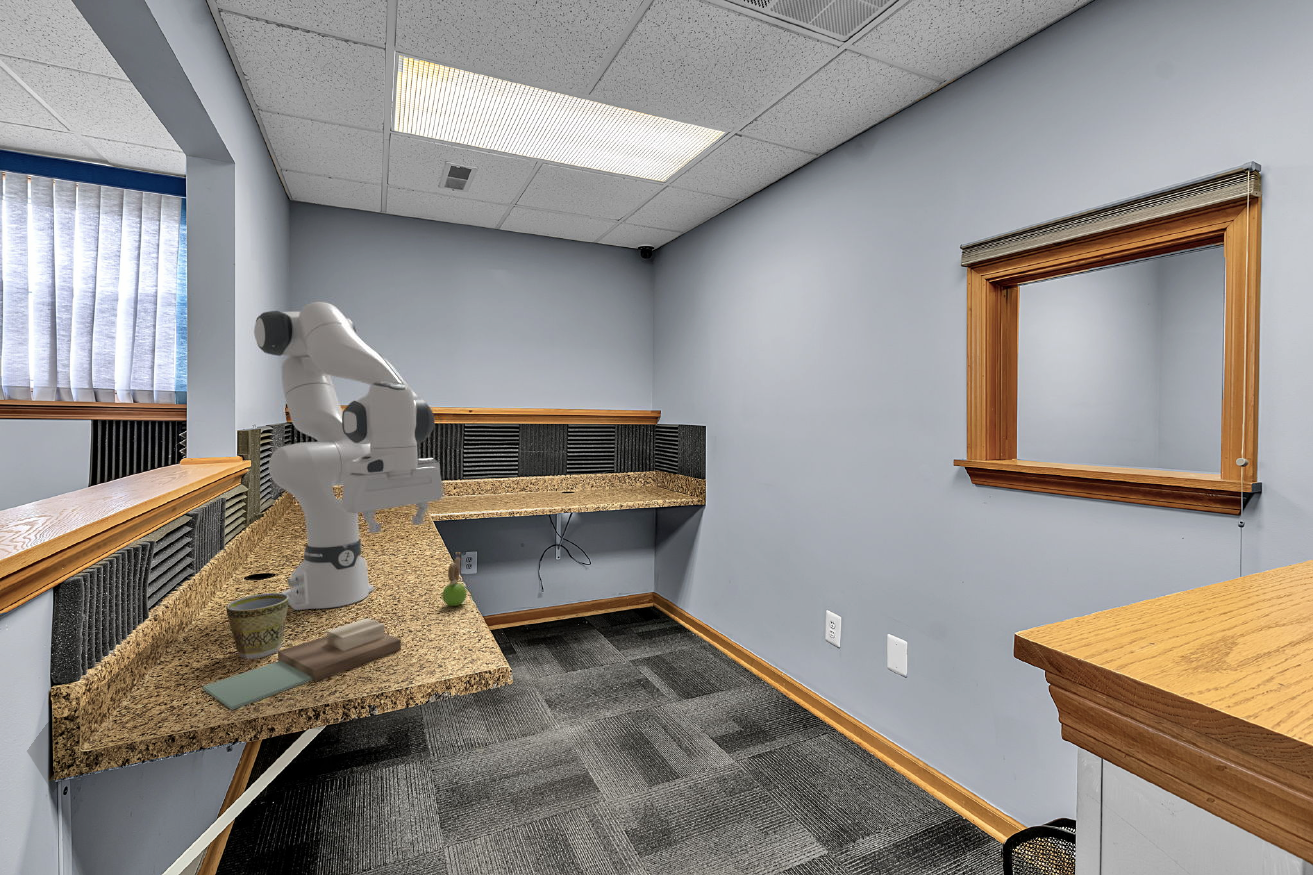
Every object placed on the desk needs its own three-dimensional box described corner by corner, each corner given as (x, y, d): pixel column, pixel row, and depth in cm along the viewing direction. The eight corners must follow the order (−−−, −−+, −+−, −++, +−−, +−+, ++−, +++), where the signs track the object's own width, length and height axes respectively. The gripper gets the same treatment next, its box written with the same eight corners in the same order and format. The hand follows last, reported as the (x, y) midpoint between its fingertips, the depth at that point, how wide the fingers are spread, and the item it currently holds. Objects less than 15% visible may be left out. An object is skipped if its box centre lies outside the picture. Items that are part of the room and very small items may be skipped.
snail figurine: (470, 600, 143) (469, 551, 143) (463, 609, 137) (461, 558, 136) (448, 600, 143) (446, 551, 142) (439, 609, 137) (438, 558, 136)
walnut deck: (278, 661, 109) (277, 651, 109) (362, 633, 123) (362, 624, 122) (315, 681, 101) (314, 670, 101) (401, 649, 115) (400, 639, 114)
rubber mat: (202, 689, 99) (202, 686, 99) (280, 663, 109) (280, 660, 109) (231, 709, 92) (231, 706, 92) (312, 680, 102) (312, 677, 102)
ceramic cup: (281, 659, 111) (279, 607, 110) (219, 666, 108) (216, 612, 107) (301, 633, 123) (299, 586, 122) (246, 639, 120) (244, 591, 120)
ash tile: (327, 643, 113) (326, 630, 113) (368, 630, 119) (367, 618, 119) (343, 650, 109) (343, 637, 109) (384, 636, 116) (384, 624, 116)
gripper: (430, 456, 130) (432, 518, 131) (336, 464, 113) (339, 535, 114) (447, 457, 127) (450, 521, 127) (353, 466, 110) (356, 539, 111)
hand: (397, 528), depth 121 cm, fingers open, 8 cm apart
